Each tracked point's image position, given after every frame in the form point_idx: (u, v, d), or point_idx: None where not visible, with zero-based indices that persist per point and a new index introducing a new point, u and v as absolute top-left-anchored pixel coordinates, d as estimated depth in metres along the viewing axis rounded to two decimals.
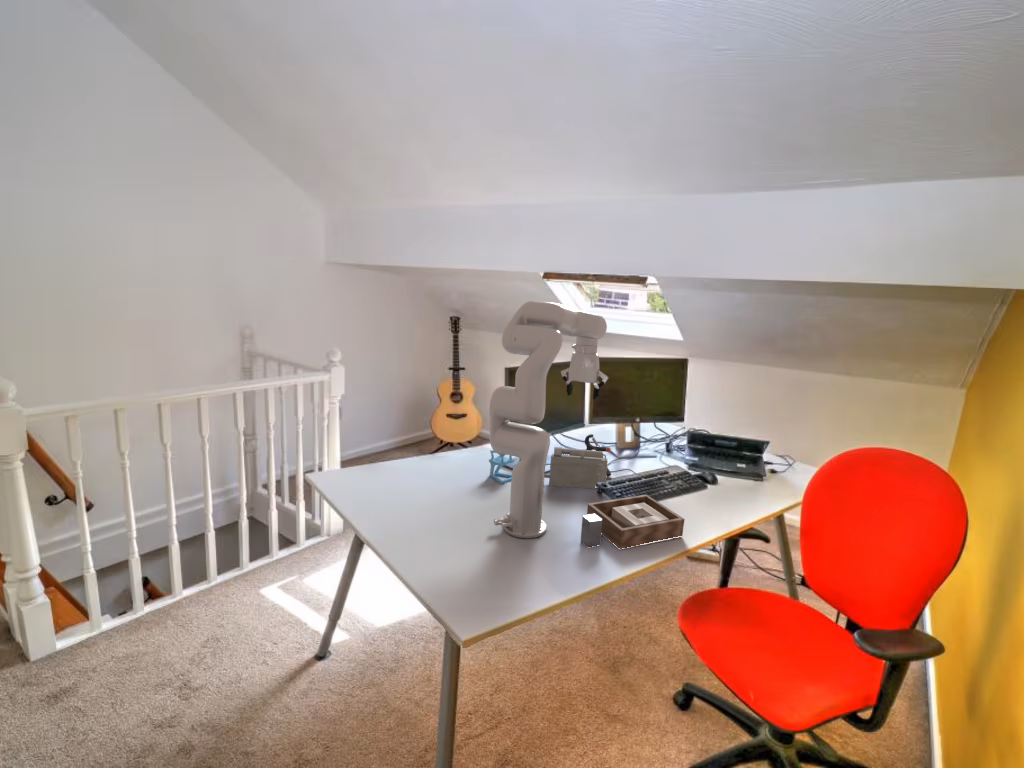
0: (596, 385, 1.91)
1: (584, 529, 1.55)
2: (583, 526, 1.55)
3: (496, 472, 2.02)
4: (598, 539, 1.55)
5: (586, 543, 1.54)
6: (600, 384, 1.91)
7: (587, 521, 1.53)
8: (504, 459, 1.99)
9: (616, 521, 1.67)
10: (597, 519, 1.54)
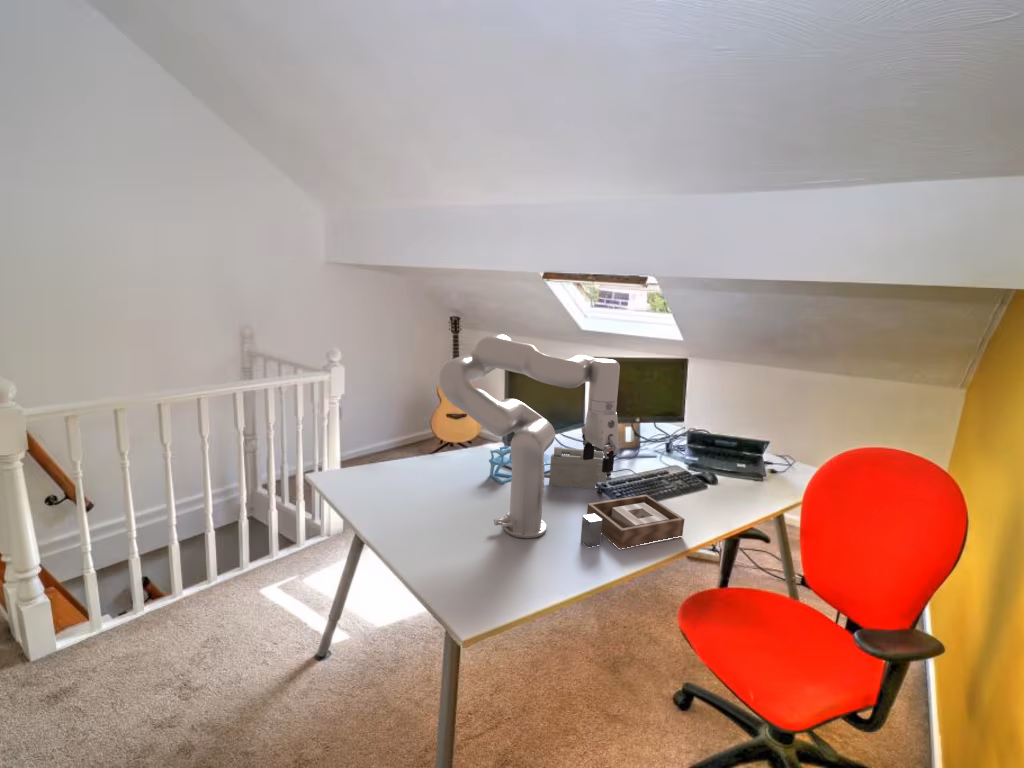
0: None
1: (584, 529, 1.55)
2: (583, 526, 1.55)
3: (496, 472, 2.02)
4: (598, 539, 1.55)
5: (586, 543, 1.54)
6: None
7: (587, 521, 1.53)
8: (504, 459, 1.99)
9: (616, 521, 1.67)
10: (597, 519, 1.54)
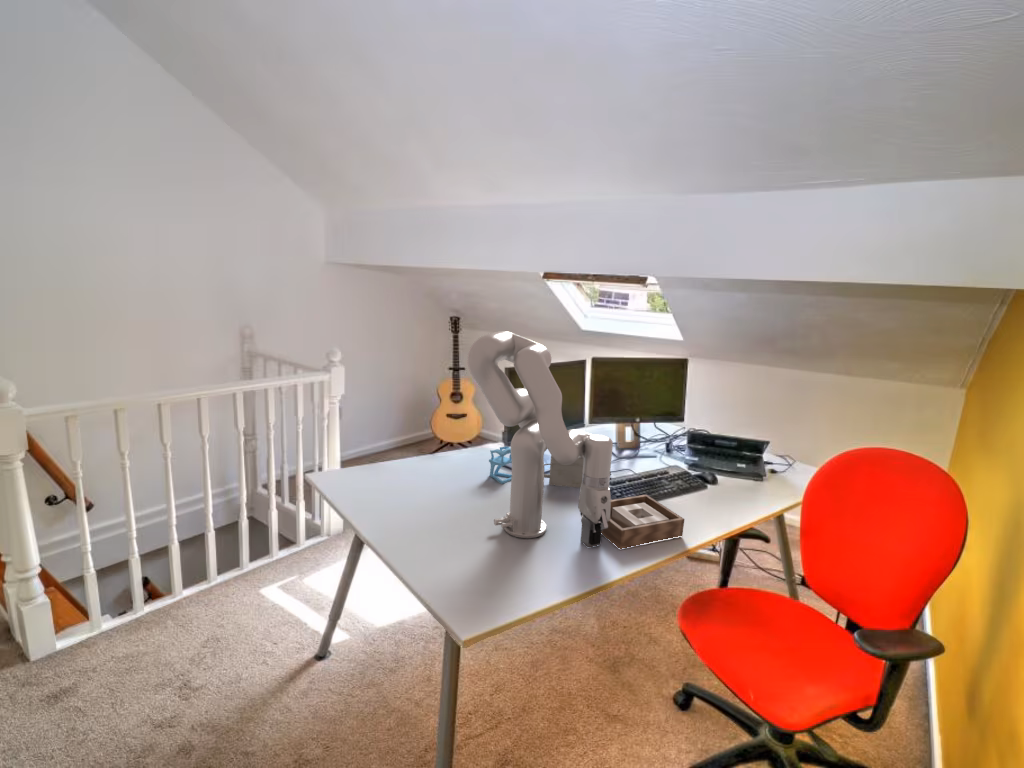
0: None
1: (584, 529, 1.55)
2: (583, 526, 1.55)
3: (496, 472, 2.02)
4: None
5: (586, 543, 1.54)
6: None
7: (587, 521, 1.53)
8: (504, 459, 1.99)
9: (616, 521, 1.67)
10: None
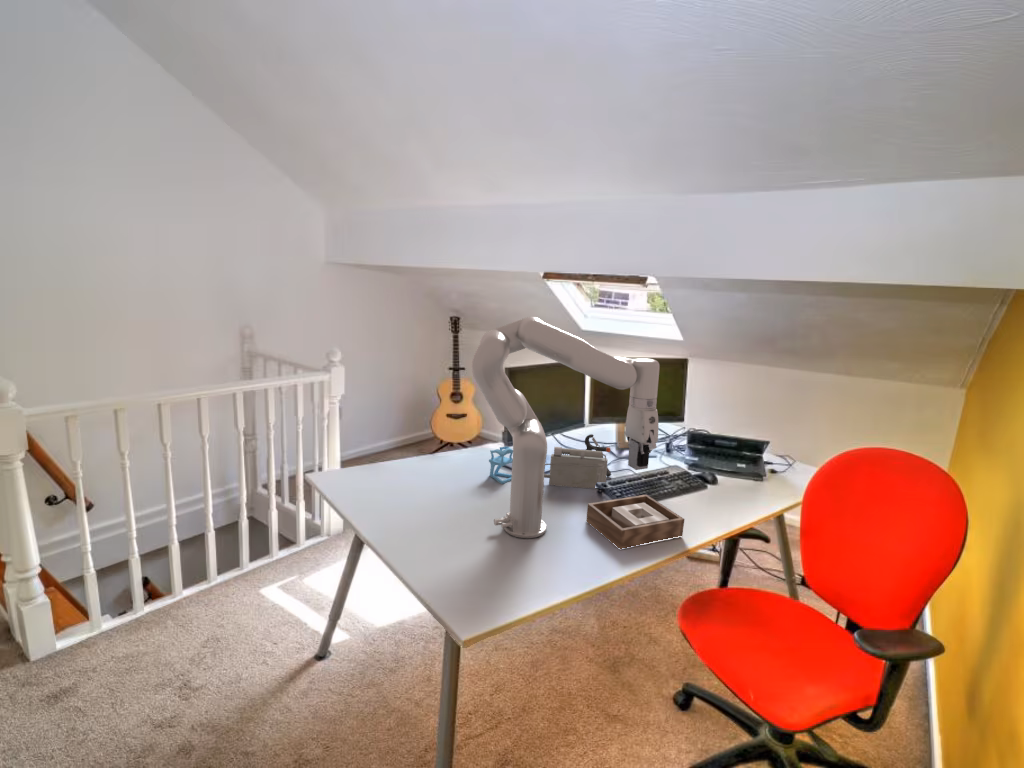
0: None
1: (632, 452, 1.58)
2: (631, 449, 1.59)
3: (496, 472, 2.02)
4: None
5: (634, 465, 1.58)
6: None
7: (635, 443, 1.57)
8: (504, 459, 1.99)
9: (616, 521, 1.67)
10: None
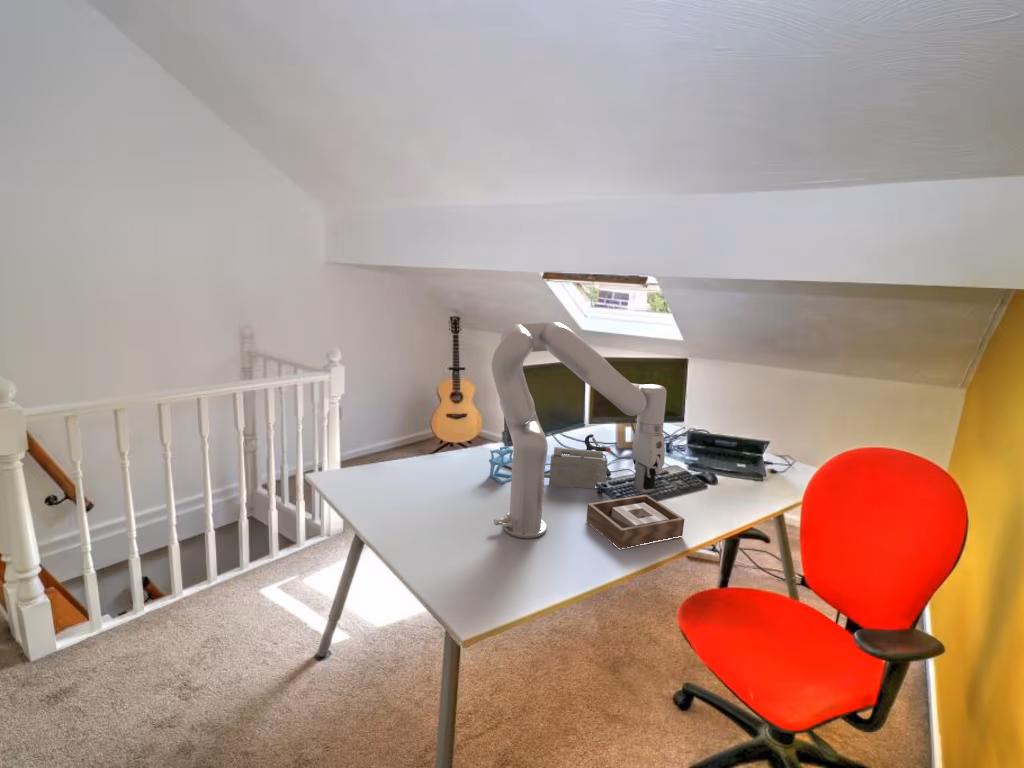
0: None
1: (638, 475, 1.62)
2: (637, 472, 1.63)
3: (496, 472, 2.02)
4: None
5: (640, 488, 1.62)
6: None
7: (641, 467, 1.61)
8: (504, 459, 1.99)
9: (616, 521, 1.67)
10: None
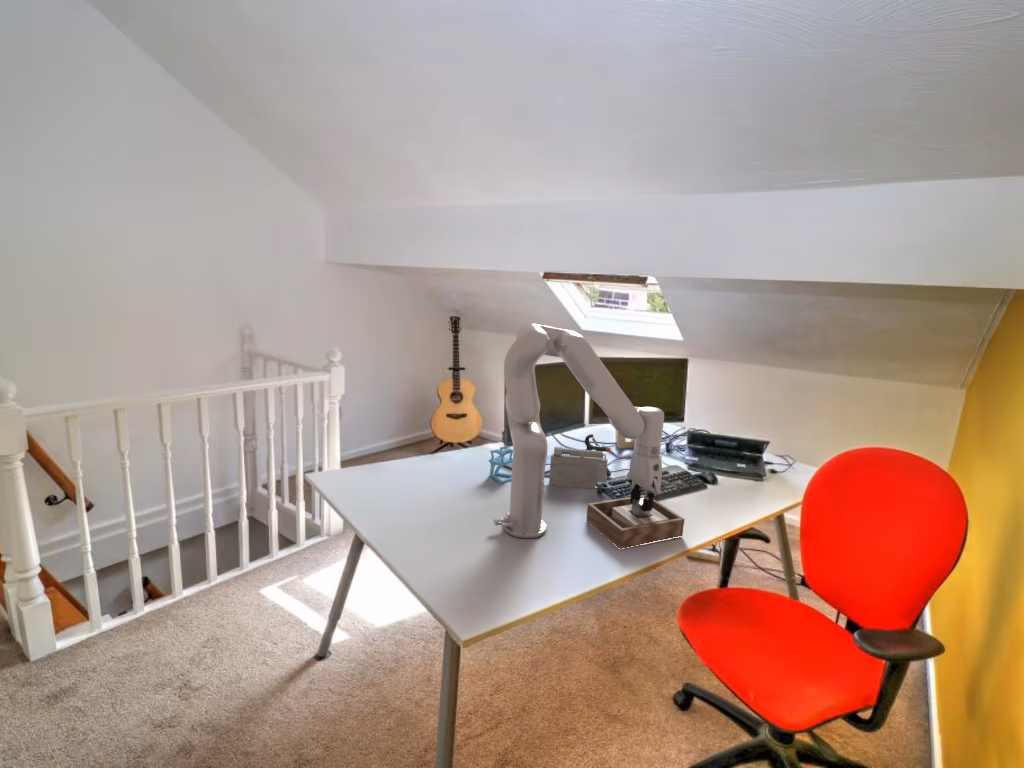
0: None
1: (634, 512, 1.65)
2: (633, 509, 1.65)
3: (496, 472, 2.02)
4: None
5: None
6: None
7: (637, 504, 1.63)
8: (504, 459, 1.99)
9: (616, 521, 1.67)
10: None
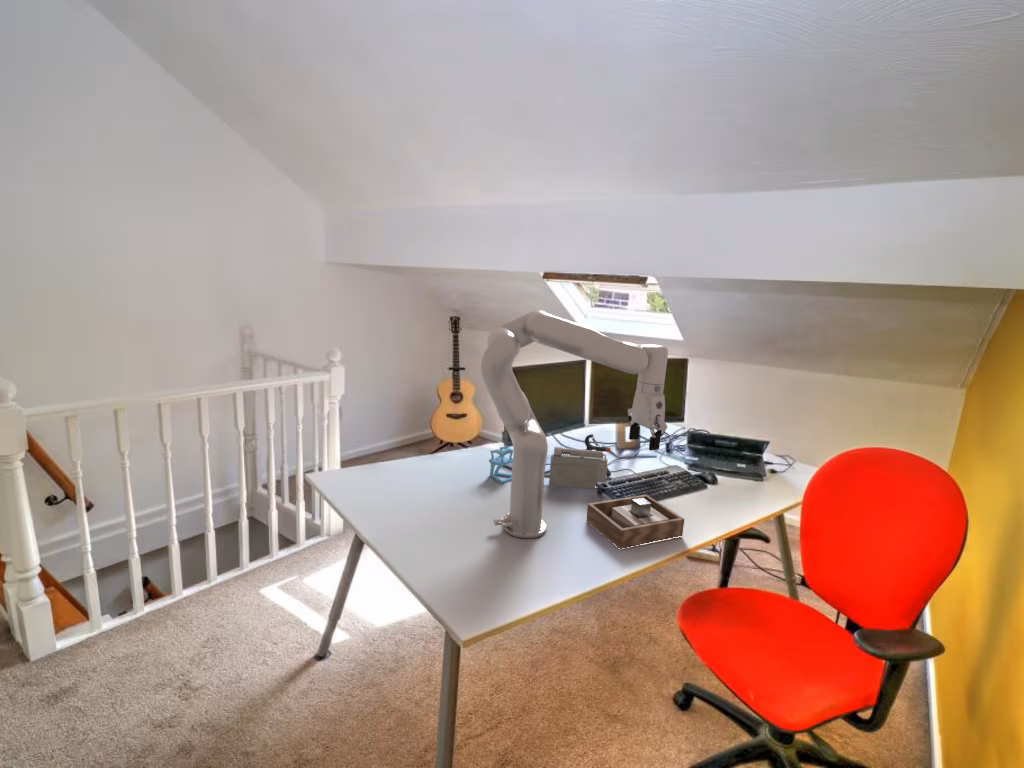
0: None
1: (634, 512, 1.65)
2: (632, 509, 1.65)
3: (496, 472, 2.02)
4: None
5: None
6: None
7: (637, 504, 1.63)
8: (504, 459, 1.99)
9: (616, 521, 1.67)
10: (646, 502, 1.63)
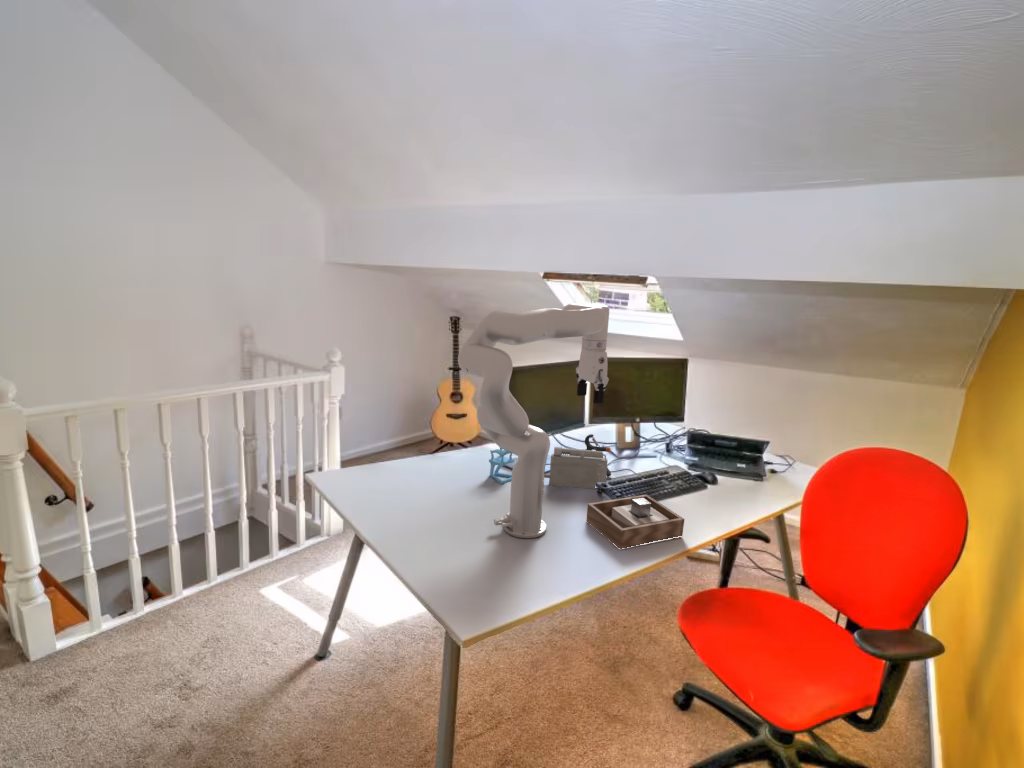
0: None
1: (634, 512, 1.65)
2: (632, 509, 1.65)
3: (496, 472, 2.02)
4: None
5: None
6: None
7: (637, 504, 1.63)
8: (504, 459, 1.99)
9: (616, 521, 1.67)
10: (646, 502, 1.63)
